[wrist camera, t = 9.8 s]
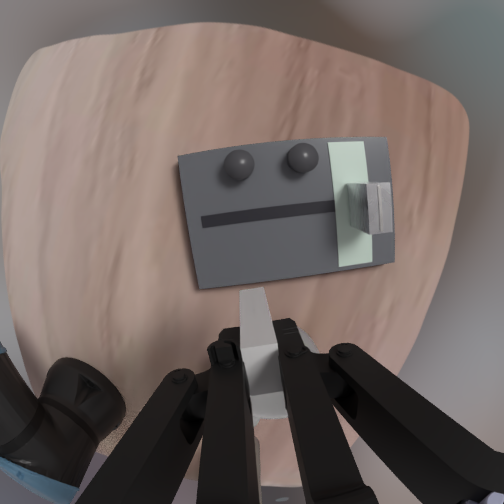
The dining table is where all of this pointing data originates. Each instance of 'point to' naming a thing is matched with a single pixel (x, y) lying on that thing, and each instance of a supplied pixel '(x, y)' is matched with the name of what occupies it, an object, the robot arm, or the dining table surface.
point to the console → (281, 209)
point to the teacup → (275, 394)
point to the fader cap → (370, 207)
